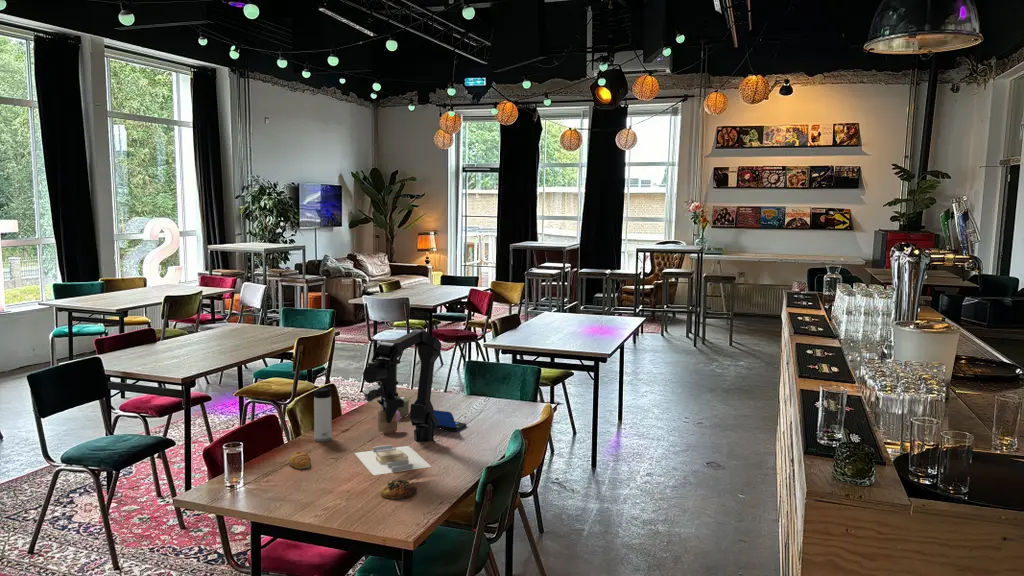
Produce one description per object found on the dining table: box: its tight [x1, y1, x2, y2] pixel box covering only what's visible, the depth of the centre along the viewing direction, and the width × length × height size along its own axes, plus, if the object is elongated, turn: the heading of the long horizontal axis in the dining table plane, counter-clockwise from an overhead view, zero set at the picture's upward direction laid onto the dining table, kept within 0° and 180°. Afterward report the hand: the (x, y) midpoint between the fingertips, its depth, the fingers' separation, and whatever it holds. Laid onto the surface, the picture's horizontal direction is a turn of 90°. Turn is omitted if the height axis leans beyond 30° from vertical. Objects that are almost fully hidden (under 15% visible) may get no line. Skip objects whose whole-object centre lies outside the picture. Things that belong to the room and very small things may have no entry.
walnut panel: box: [377, 409, 396, 433], centre depth 245 cm, size 6×2×7 cm, turn 116°
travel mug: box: [313, 387, 333, 443], centre depth 266 cm, size 6×7×20 cm
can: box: [380, 395, 410, 417], centre depth 302 cm, size 12×12×7 cm
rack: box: [354, 444, 432, 476], centre depth 243 cm, size 20×24×2 cm
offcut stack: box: [376, 450, 408, 464], centre depth 243 cm, size 10×5×2 cm, turn 117°
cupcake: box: [376, 411, 401, 435], centre depth 276 cm, size 9×9×10 cm
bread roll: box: [379, 478, 417, 500], centre depth 216 cm, size 11×11×5 cm
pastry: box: [288, 451, 312, 470], centre depth 238 cm, size 9×7×4 cm
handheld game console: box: [433, 409, 467, 433], centre depth 284 cm, size 16×13×9 cm
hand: (388, 422), depth 245 cm, fingers closed on walnut panel, 2 cm apart
